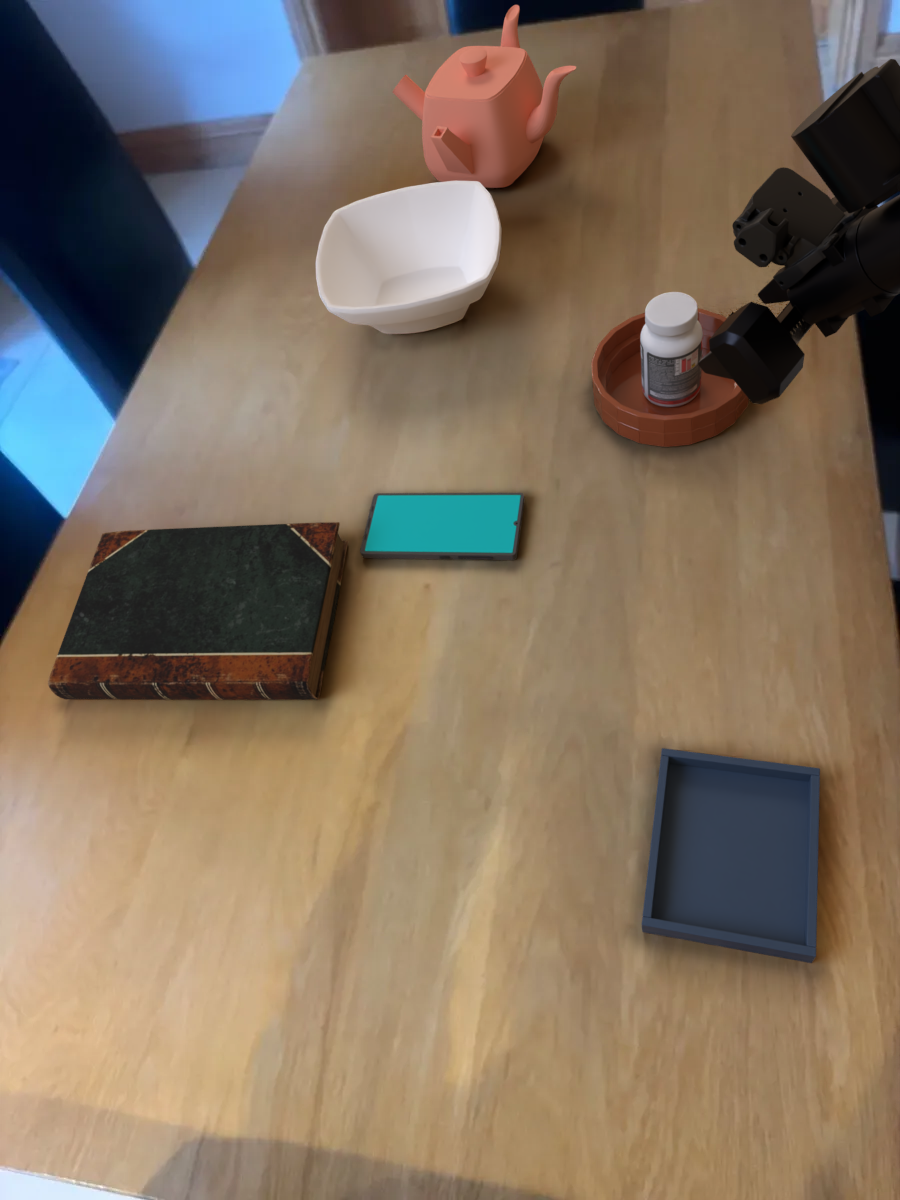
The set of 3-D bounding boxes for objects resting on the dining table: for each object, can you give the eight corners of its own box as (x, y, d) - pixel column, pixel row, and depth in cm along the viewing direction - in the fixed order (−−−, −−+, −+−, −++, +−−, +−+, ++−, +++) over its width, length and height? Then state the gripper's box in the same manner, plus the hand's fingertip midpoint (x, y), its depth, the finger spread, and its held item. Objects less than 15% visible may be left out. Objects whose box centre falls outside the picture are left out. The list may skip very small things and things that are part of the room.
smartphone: (374, 493, 90) (524, 492, 86) (376, 498, 91) (525, 498, 87) (358, 554, 86) (515, 556, 83) (361, 559, 87) (516, 561, 83)
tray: (661, 758, 71) (661, 747, 69) (816, 778, 68) (820, 767, 66) (642, 932, 64) (641, 925, 62) (812, 963, 61) (816, 956, 59)
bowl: (334, 383, 101) (309, 322, 94) (340, 265, 113) (318, 204, 106) (518, 350, 98) (507, 285, 91) (505, 233, 110) (494, 167, 103)
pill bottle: (713, 390, 90) (717, 310, 81) (665, 418, 89) (665, 340, 81) (676, 359, 93) (677, 279, 85) (630, 386, 92) (626, 307, 84)
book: (350, 542, 89) (119, 550, 94) (339, 519, 86) (101, 529, 91) (319, 704, 79) (65, 703, 85) (306, 685, 76) (43, 685, 82)
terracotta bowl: (679, 317, 96) (679, 286, 93) (785, 391, 88) (789, 360, 85) (564, 390, 94) (560, 361, 91) (662, 474, 86) (662, 445, 82)
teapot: (529, 105, 124) (516, -5, 113) (585, 171, 113) (576, 57, 102) (405, 154, 123) (379, 49, 112) (450, 225, 113) (426, 116, 102)
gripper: (885, 77, 62) (732, 189, 76) (740, 238, 56) (604, 326, 70) (975, 207, 64) (811, 292, 79) (845, 374, 59) (693, 433, 73)
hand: (732, 332), depth 75 cm, fingers open, 9 cm apart
